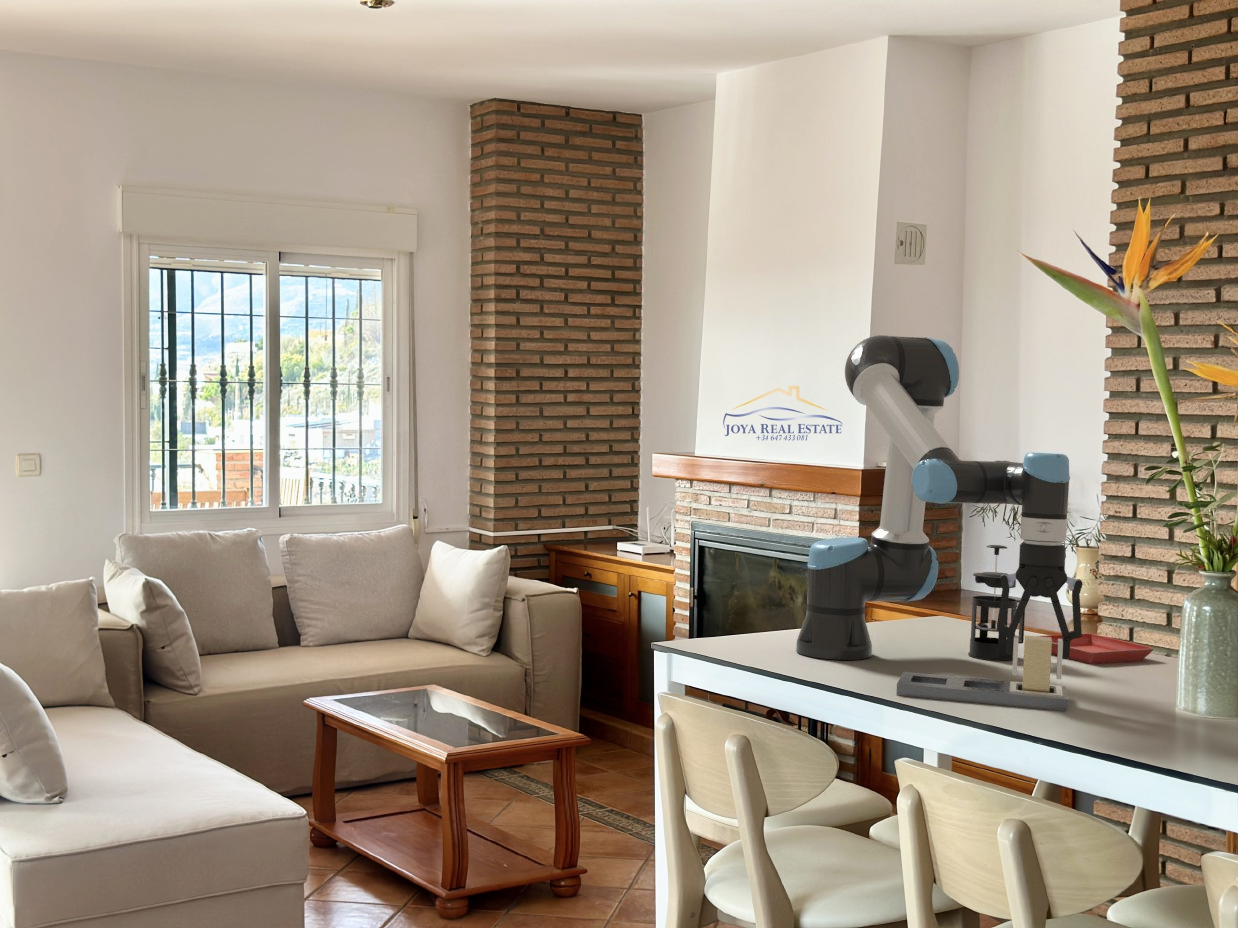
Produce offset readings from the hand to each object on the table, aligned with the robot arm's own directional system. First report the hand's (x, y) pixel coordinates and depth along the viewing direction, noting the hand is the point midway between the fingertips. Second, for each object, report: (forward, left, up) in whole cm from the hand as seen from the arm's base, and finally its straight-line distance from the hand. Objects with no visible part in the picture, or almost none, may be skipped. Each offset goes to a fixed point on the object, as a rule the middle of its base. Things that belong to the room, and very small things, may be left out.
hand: (1036, 675), depth 229 cm
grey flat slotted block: (-9, 0, -4) cm, 10 cm away
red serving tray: (+11, +55, -5) cm, 56 cm away
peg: (0, 0, -4) cm, 4 cm away
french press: (-8, +43, -5) cm, 44 cm away
